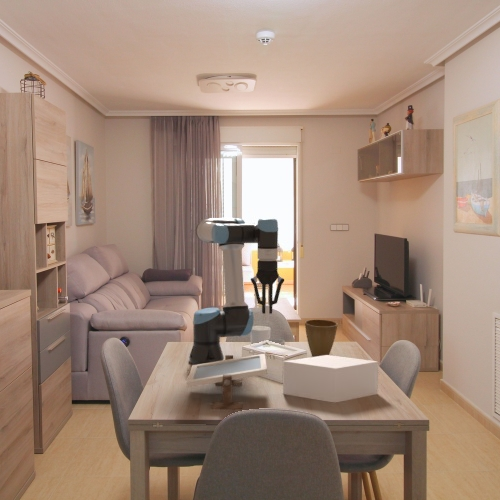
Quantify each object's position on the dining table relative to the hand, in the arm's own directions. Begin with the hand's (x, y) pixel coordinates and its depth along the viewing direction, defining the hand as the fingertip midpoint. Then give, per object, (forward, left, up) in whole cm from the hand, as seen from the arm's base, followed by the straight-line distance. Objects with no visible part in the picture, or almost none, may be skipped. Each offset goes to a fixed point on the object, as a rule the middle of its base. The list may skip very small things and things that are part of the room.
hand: (267, 322), depth 198 cm
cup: (-10, +30, -25) cm, 41 cm away
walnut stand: (-9, -15, -25) cm, 30 cm away
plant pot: (+5, +50, -25) cm, 56 cm away
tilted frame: (-9, -15, -16) cm, 23 cm away
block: (+24, +4, -25) cm, 35 cm away
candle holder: (-23, +42, -25) cm, 54 cm away
